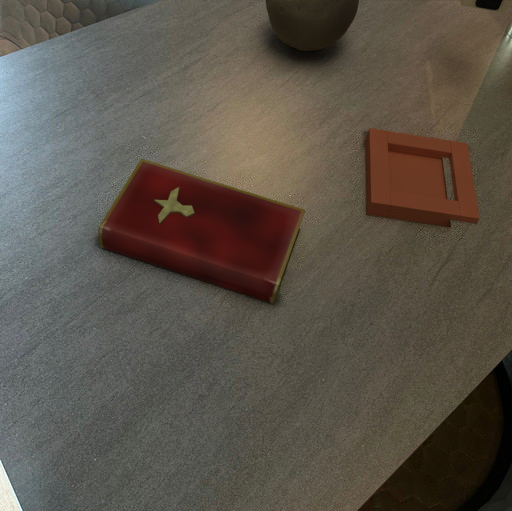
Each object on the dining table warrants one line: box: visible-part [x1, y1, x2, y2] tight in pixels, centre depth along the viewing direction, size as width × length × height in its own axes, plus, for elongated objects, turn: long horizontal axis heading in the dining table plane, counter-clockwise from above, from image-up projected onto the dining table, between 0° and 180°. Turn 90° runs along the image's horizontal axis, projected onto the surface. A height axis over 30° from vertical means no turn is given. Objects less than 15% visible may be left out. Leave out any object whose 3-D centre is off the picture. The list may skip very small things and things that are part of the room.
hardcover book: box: [97, 158, 306, 305], centre depth 73 cm, size 12×21×4 cm, turn 73°
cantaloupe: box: [265, 0, 360, 52], centre depth 95 cm, size 14×14×15 cm
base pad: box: [364, 127, 481, 228], centre depth 84 cm, size 14×14×2 cm
